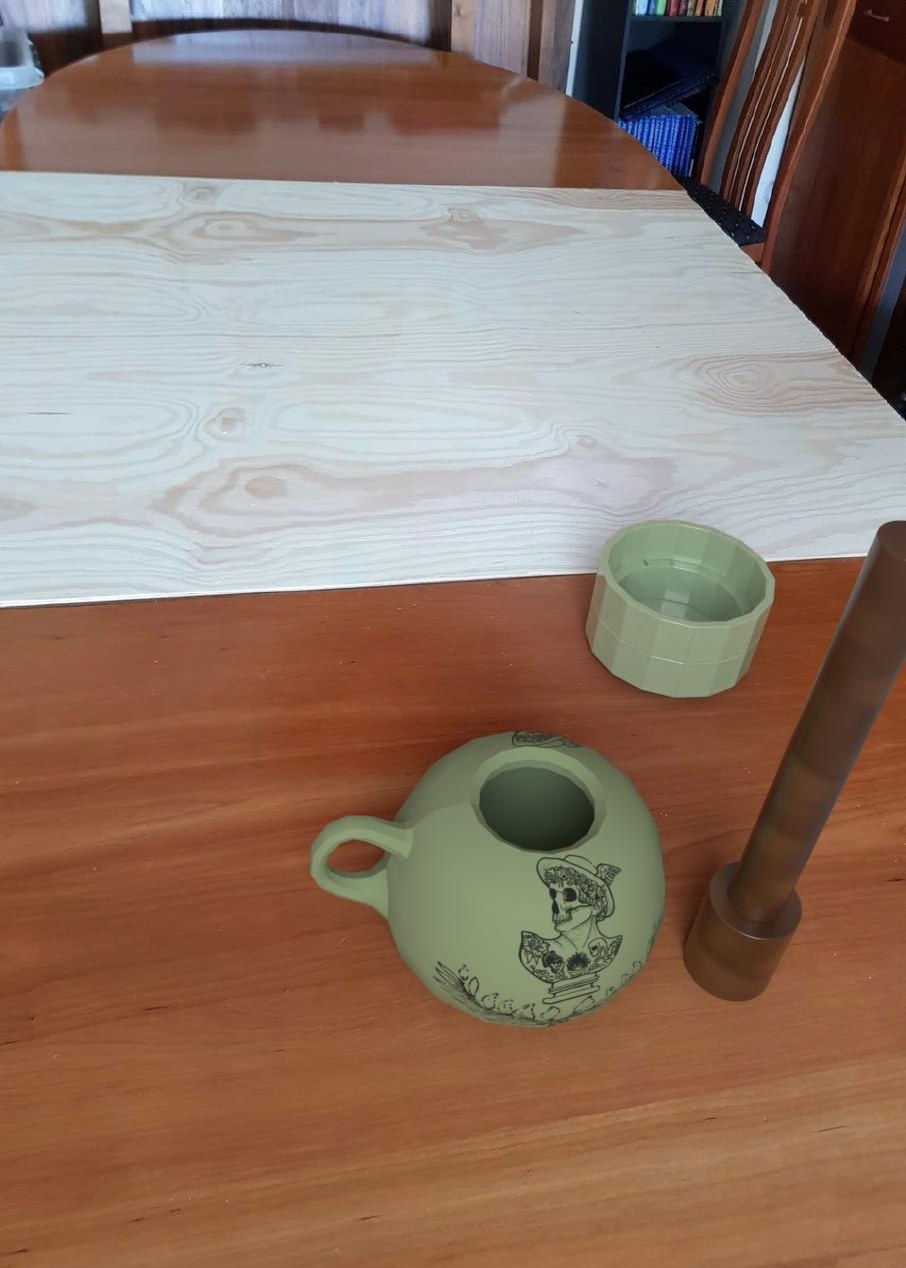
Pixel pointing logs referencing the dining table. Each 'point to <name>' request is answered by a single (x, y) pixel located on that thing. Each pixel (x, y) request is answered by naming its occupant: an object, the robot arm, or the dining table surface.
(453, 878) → the mug
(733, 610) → the bowl
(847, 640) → the wooden pestle
